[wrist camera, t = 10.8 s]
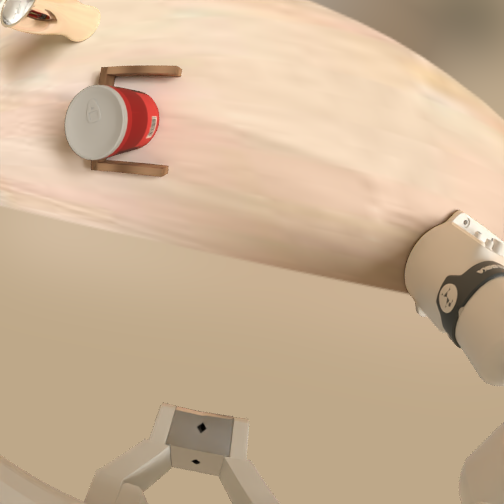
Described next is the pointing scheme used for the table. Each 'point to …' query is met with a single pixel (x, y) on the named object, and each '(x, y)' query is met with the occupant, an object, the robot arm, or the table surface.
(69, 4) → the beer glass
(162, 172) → the open wooden square
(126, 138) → the canned food
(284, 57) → the table surface
